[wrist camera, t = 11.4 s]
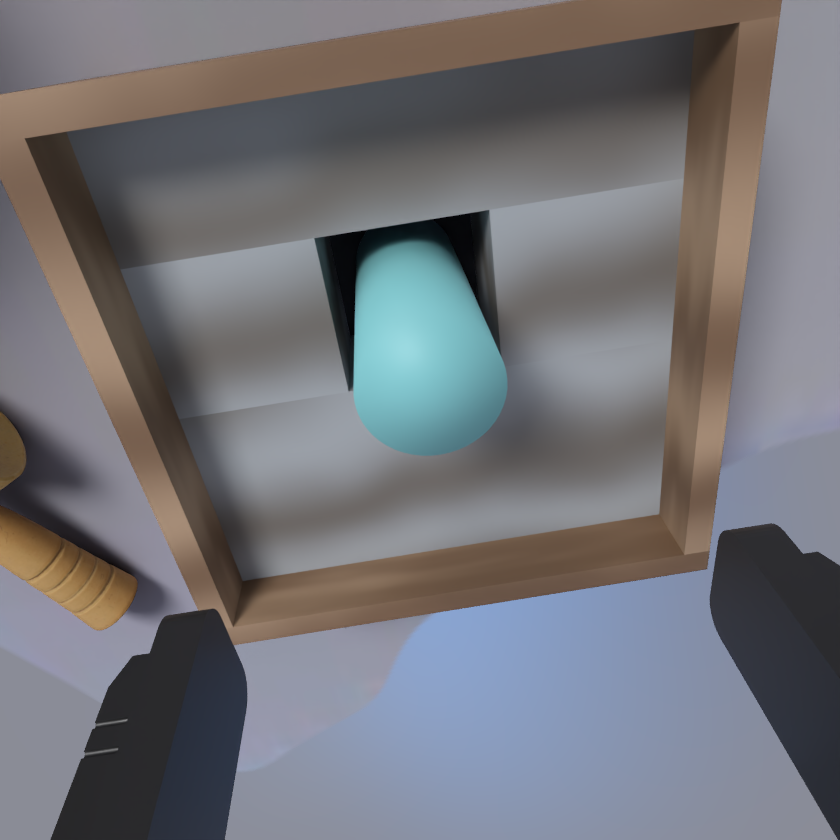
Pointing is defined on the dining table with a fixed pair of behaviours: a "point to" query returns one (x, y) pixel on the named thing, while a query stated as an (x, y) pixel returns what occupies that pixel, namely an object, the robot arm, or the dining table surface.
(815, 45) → the dining table surface
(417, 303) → the peg
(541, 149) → the bore box
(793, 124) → the dining table surface
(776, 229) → the dining table surface
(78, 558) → the kendama
